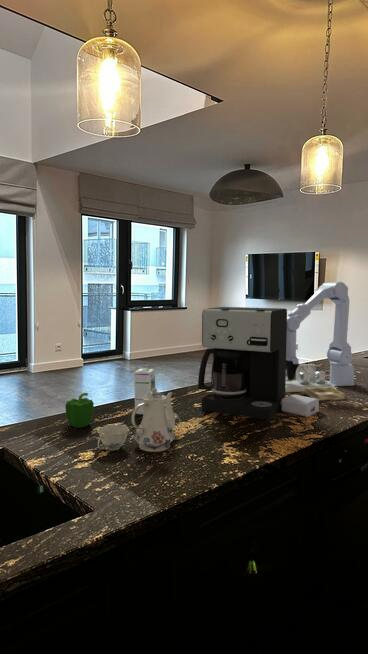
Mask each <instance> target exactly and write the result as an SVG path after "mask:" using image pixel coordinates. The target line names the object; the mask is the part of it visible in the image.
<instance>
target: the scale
mask: <svg viewBox="0 0 368 654" xmlns="http://www.w3.org/2000/svg"><path fill="white" fill-rule="evenodd" d="M316 367H317V364H314V363H310V364H309V363H307V364H305V363H303V364H299V366H298V368H297V370H296V372H295V380H294V381H286V386H285V393H299V392H305V388H325V387H331V388H333V389H336V386H333V385H331V384H329V383H326V381H325V384H316V383H314V372H315V371H317V370H316ZM299 372H309V373H310V382H309V384H308V385H302V384H299V383H298V382H299Z"/></svg>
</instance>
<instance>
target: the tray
mask: <svg viewBox="0 0 368 654" xmlns="http://www.w3.org/2000/svg"><path fill="white" fill-rule="evenodd" d="M304 395H307V396H308V397H310V398H316V399H319V401H335V400H345V399H346V393H344V392H342V391H340V390H337V389H336V388H335V389H333V388H331V387H325V388H305V391H304Z"/></svg>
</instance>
